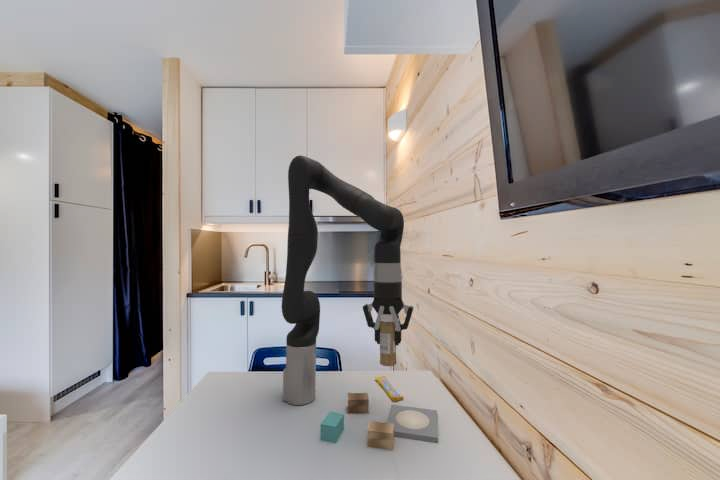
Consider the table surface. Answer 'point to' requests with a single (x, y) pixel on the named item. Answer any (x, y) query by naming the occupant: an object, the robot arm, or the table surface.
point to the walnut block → (358, 403)
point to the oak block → (380, 435)
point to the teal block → (332, 427)
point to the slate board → (414, 423)
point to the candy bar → (388, 389)
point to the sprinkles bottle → (387, 341)
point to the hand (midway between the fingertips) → (388, 343)
